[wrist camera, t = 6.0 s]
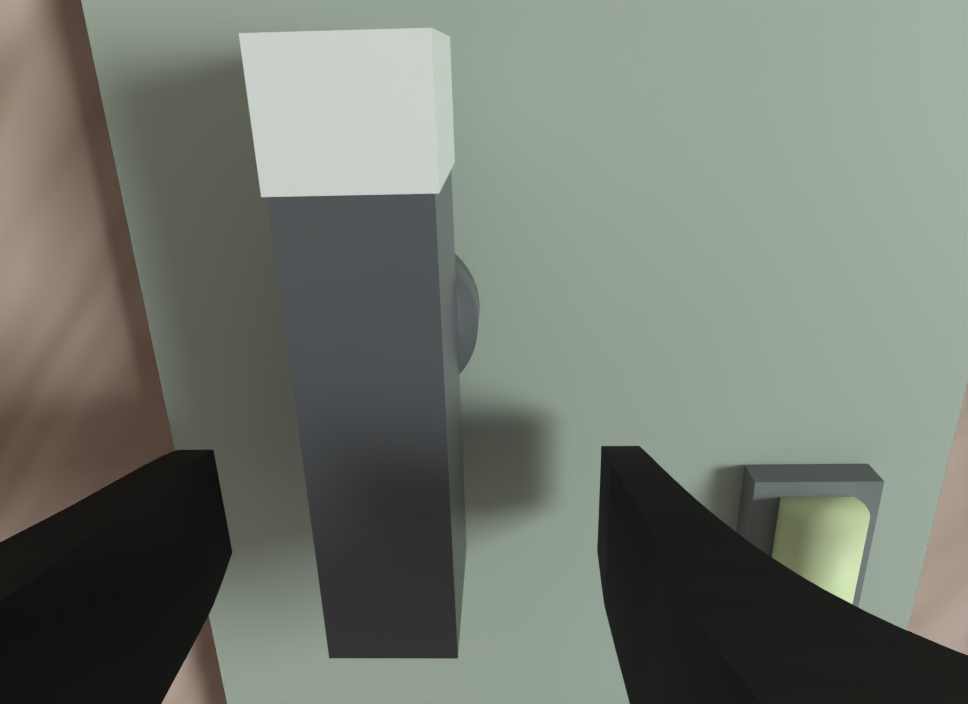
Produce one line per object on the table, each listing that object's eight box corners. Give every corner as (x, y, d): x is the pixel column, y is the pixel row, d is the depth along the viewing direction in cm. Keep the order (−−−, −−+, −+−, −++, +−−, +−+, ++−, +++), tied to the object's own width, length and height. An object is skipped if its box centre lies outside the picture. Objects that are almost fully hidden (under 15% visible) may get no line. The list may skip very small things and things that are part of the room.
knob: (485, 512, 13) (479, 661, 10) (355, 513, 13) (307, 661, 10) (472, 37, 10) (457, 26, 7) (305, 43, 10) (213, 34, 7)
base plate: (806, 918, 20) (852, 1049, 17) (292, 912, 20) (261, 1038, 17) (1033, -122, 11) (1202, -181, 8) (102, -90, 11) (-18, -136, 9)
